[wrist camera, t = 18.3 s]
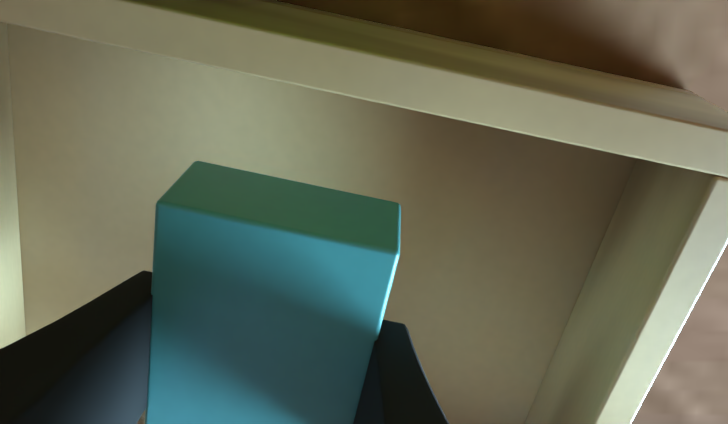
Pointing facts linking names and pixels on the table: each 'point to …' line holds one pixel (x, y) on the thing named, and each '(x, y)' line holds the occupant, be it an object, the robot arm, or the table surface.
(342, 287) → the rectangular block
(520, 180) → the holder
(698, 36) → the table surface
